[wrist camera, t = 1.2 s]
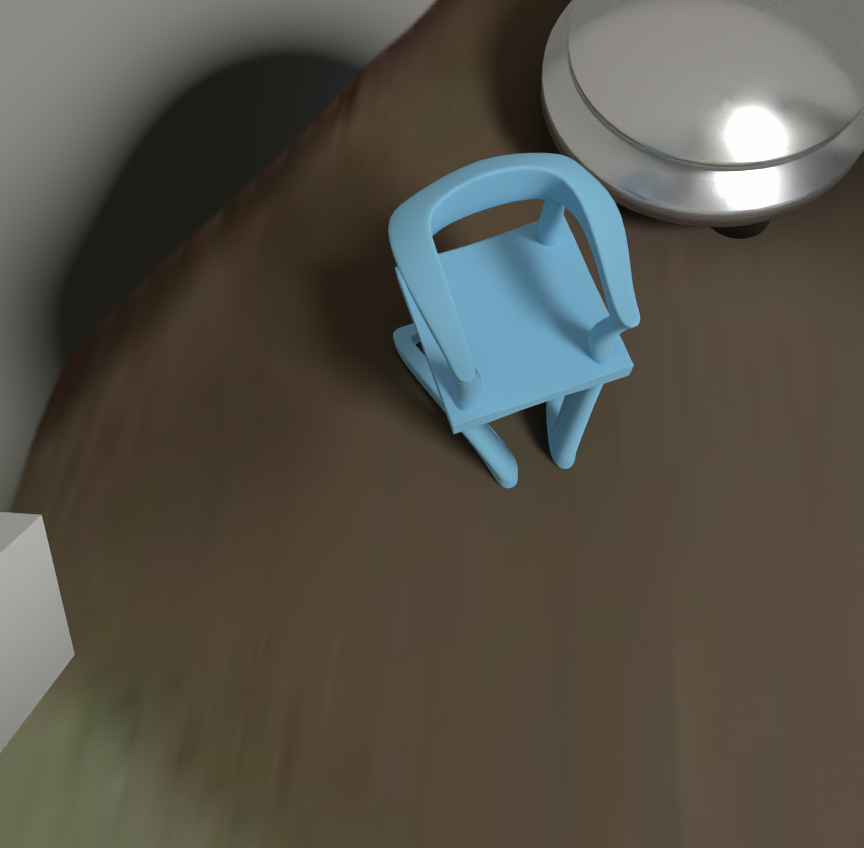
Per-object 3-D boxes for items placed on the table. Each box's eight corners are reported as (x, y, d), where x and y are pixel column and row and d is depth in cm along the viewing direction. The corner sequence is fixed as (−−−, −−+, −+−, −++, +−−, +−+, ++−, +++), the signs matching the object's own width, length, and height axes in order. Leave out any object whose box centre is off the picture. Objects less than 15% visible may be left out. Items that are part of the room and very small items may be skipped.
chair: (451, 509, 31) (434, 406, 20) (392, 338, 34) (347, 164, 23) (626, 449, 32) (705, 316, 20) (553, 285, 34) (587, 88, 23)
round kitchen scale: (772, -24, 40) (810, -121, 35) (910, 202, 34) (976, 125, 30) (499, 49, 39) (501, -39, 35) (598, 290, 34) (615, 225, 29)
